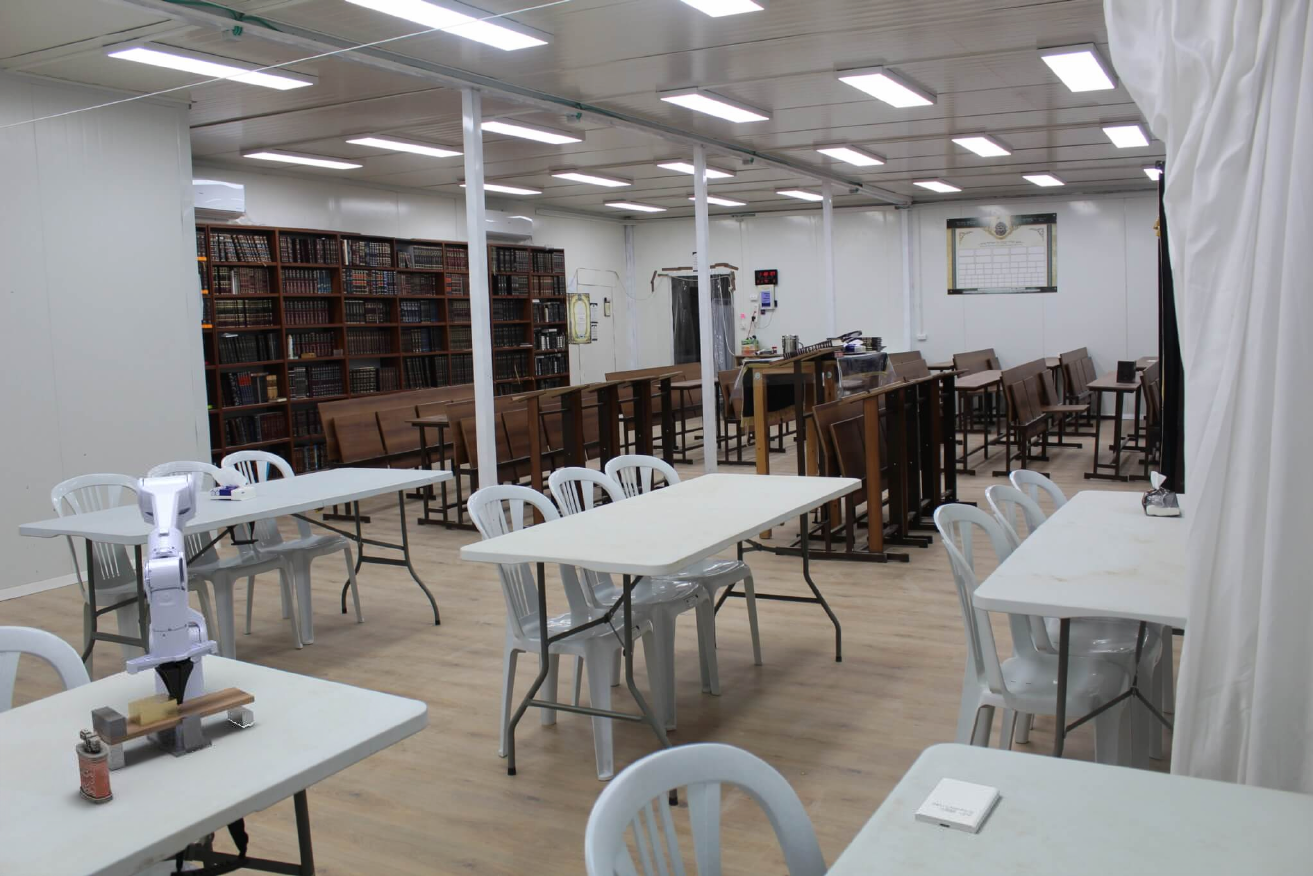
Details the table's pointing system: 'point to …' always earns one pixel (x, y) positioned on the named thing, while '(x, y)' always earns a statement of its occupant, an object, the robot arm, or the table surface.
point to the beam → (122, 729)
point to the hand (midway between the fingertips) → (177, 703)
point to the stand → (179, 736)
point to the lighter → (93, 768)
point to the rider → (153, 709)
